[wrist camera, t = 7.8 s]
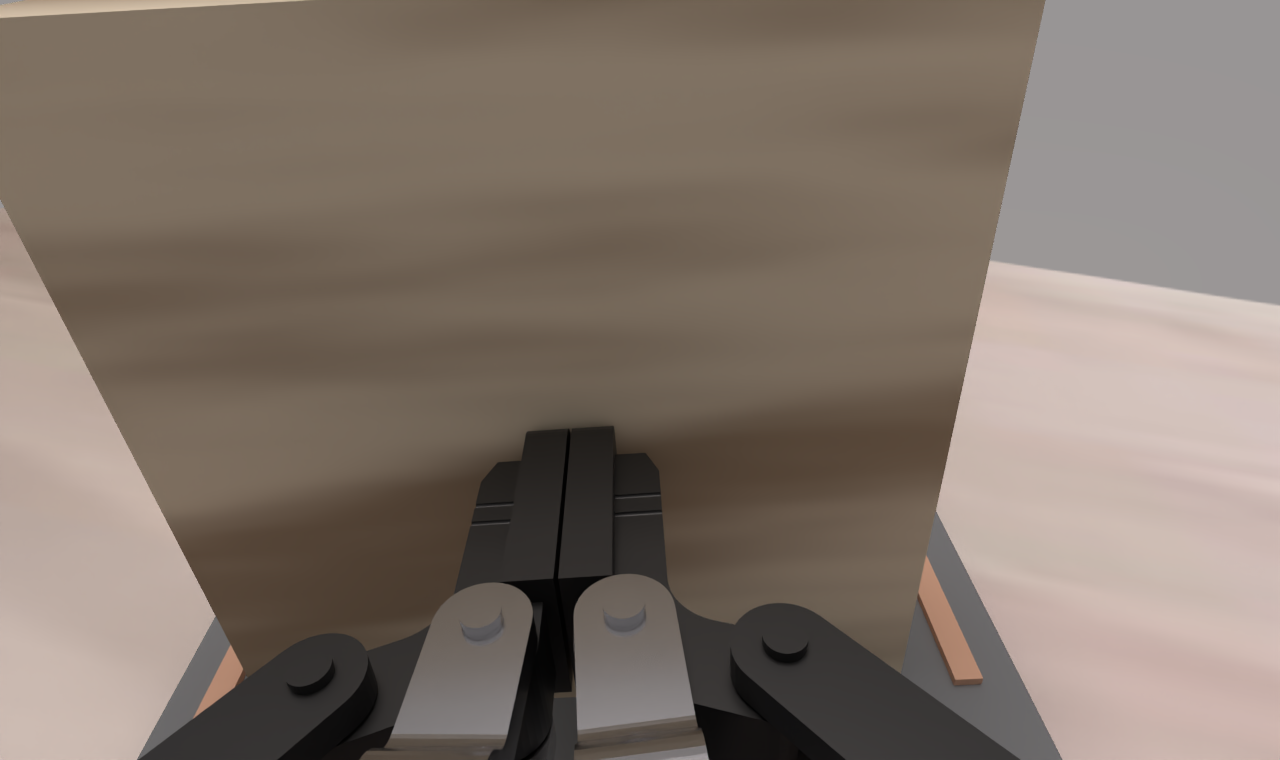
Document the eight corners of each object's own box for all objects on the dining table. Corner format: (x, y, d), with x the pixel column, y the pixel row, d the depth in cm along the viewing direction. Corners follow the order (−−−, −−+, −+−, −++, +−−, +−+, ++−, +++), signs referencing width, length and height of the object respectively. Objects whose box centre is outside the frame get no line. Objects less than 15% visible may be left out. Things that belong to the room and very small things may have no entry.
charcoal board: (1338, 1390, 9) (1386, 1376, 9) (-192, 1462, 10) (-257, 1455, 9) (847, 365, 30) (851, 338, 29) (356, 392, 30) (349, 365, 29)
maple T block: (899, 679, 17) (1054, -43, 9) (266, 713, 17) (-92, 23, 9) (793, 382, 27) (826, -81, 19) (396, 404, 27) (274, -49, 19)
